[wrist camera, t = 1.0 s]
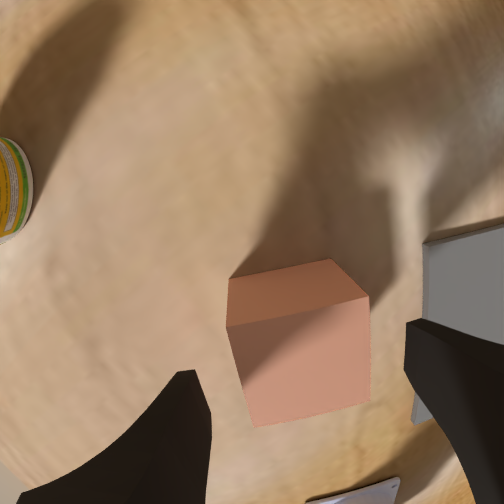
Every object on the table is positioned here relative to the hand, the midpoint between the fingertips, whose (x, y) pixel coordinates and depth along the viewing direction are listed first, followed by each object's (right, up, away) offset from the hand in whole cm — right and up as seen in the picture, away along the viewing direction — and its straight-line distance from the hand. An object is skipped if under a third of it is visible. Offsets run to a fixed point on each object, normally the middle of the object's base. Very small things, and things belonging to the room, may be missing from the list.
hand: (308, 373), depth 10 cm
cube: (0, +1, +5) cm, 5 cm away
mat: (+13, 0, +5) cm, 14 cm away
